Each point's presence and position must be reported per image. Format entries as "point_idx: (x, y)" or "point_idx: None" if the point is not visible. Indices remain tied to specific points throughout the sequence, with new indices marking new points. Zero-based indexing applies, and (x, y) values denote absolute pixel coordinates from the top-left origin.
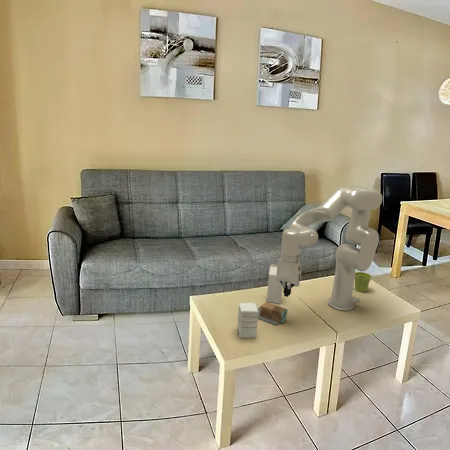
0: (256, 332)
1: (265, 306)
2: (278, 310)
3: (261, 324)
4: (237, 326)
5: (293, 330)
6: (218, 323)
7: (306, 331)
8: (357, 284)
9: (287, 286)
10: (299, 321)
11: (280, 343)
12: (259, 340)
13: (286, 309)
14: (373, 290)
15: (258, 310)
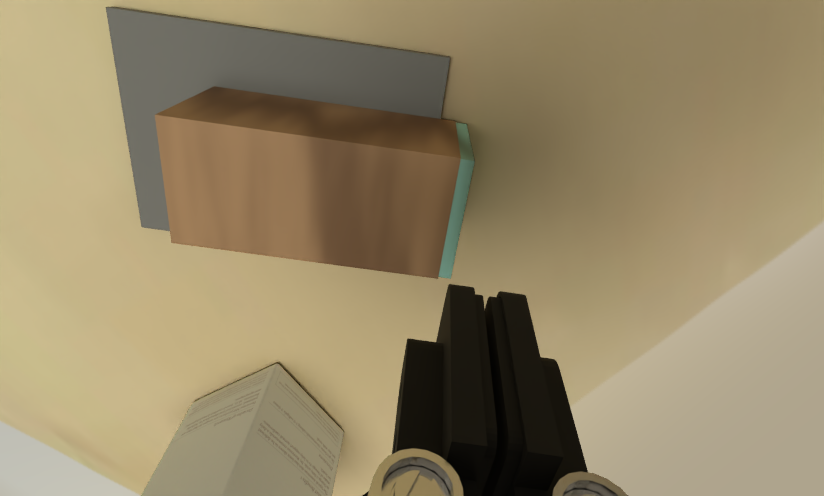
0: (337, 464)
1: (218, 228)
2: (386, 243)
3: (300, 291)
4: (185, 416)
5: (564, 258)
6: (58, 399)
7: (679, 222)
8: None
9: (474, 492)
10: (604, 77)
11: None
12: (375, 444)
13: (465, 171)
14: None
15: (149, 102)
